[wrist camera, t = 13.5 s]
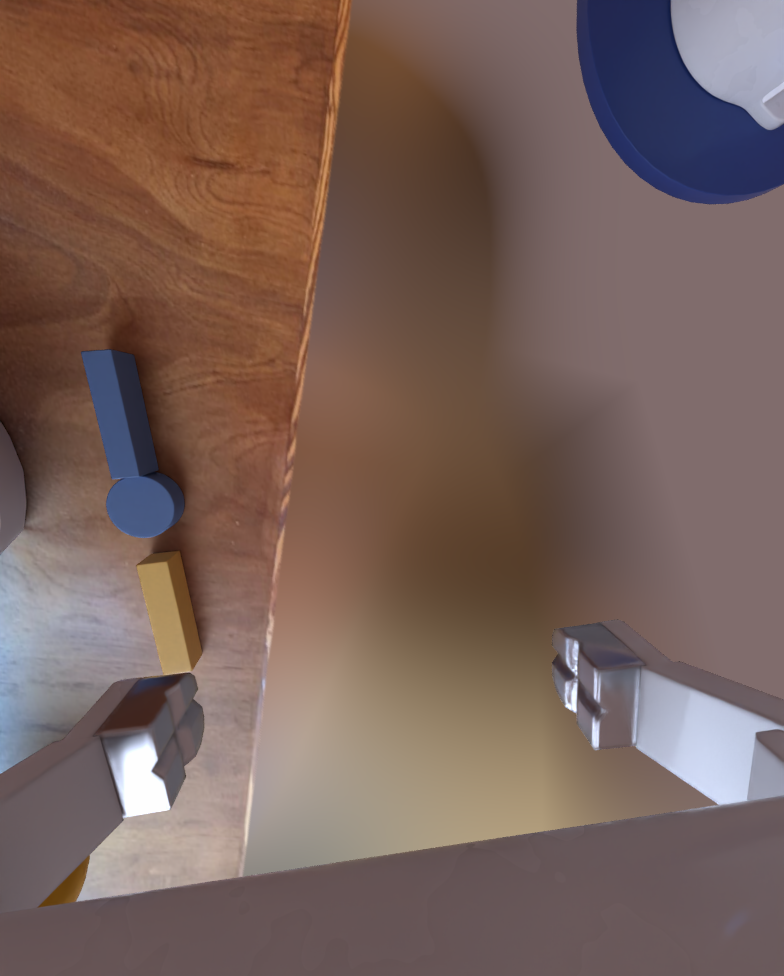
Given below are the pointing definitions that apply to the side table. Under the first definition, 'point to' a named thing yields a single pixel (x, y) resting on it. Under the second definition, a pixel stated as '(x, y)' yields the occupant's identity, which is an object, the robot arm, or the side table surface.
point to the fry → (170, 611)
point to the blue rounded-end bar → (130, 448)
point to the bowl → (10, 492)
